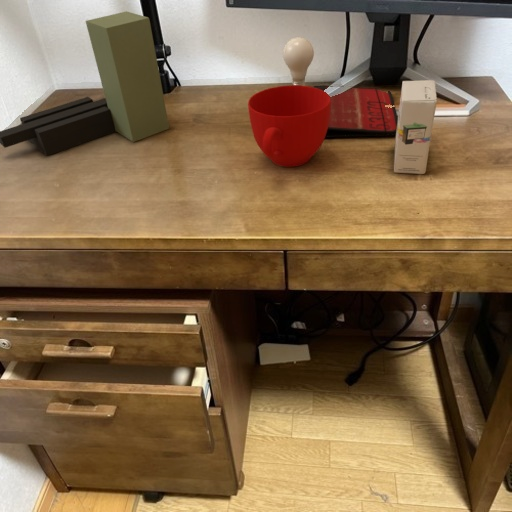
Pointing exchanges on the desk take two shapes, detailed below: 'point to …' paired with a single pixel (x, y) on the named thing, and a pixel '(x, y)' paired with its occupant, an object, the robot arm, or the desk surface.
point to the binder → (361, 113)
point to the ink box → (414, 126)
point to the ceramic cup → (289, 122)
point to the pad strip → (44, 123)
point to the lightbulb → (298, 58)
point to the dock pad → (70, 127)
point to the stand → (129, 73)
